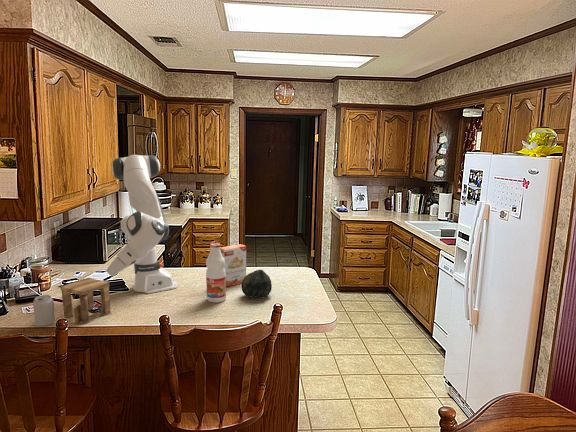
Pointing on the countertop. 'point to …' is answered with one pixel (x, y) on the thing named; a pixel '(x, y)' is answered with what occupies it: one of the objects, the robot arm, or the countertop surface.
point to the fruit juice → (215, 275)
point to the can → (44, 310)
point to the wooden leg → (85, 312)
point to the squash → (256, 284)
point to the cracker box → (234, 263)
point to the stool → (87, 289)
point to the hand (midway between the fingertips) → (113, 274)
